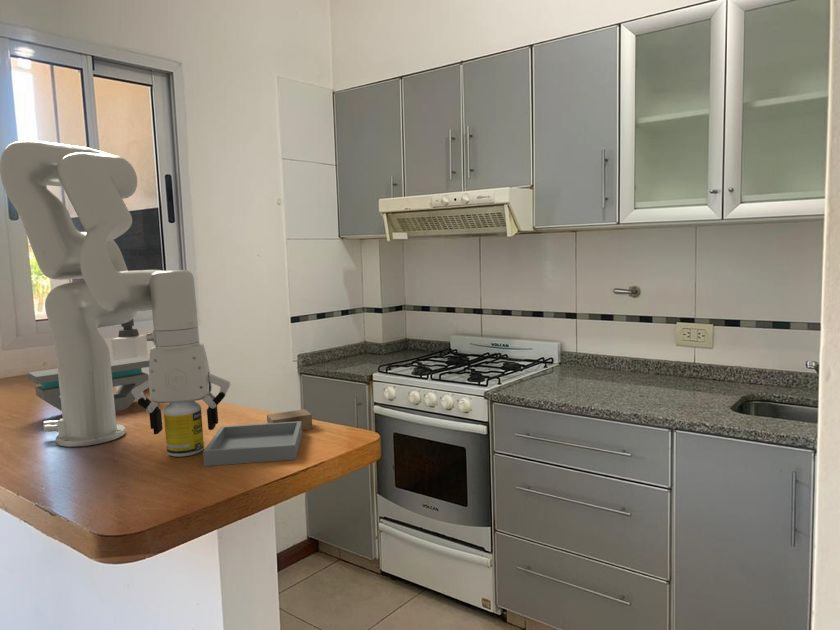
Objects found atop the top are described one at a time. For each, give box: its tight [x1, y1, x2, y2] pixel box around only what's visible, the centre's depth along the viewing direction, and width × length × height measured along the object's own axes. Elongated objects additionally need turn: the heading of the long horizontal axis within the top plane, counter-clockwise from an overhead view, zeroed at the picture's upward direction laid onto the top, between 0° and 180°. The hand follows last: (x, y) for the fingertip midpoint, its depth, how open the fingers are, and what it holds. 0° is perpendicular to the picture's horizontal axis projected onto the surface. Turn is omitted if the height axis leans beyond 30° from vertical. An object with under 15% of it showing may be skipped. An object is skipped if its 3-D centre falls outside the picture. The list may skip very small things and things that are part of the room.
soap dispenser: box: [110, 318, 149, 392], centre depth 174 cm, size 6×9×22 cm
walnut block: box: [266, 408, 313, 431], centre depth 132 cm, size 8×5×3 cm, turn 116°
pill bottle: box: [163, 401, 205, 458], centre depth 119 cm, size 6×6×12 cm
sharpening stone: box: [27, 357, 150, 412], centre depth 153 cm, size 25×8×11 cm, turn 132°
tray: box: [202, 421, 303, 467], centre depth 120 cm, size 16×16×3 cm
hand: (185, 430), depth 119 cm, fingers open, 9 cm apart
